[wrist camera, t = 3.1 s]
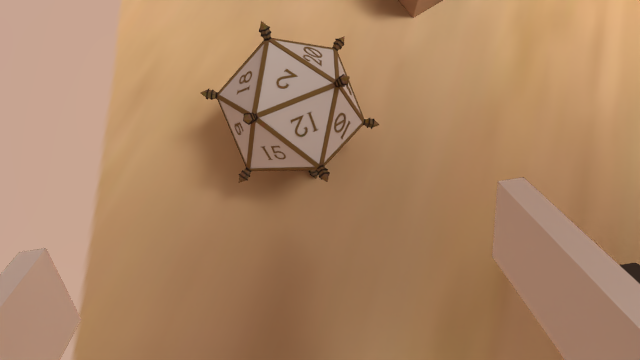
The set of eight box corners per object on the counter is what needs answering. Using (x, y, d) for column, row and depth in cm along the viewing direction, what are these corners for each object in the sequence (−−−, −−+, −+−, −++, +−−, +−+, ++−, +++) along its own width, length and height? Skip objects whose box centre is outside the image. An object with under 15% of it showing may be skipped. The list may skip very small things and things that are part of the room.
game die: (281, 139, 33) (228, 1, 27) (396, 133, 29) (365, -26, 23) (226, 228, 26) (141, 73, 20) (366, 234, 23) (312, 50, 17)
